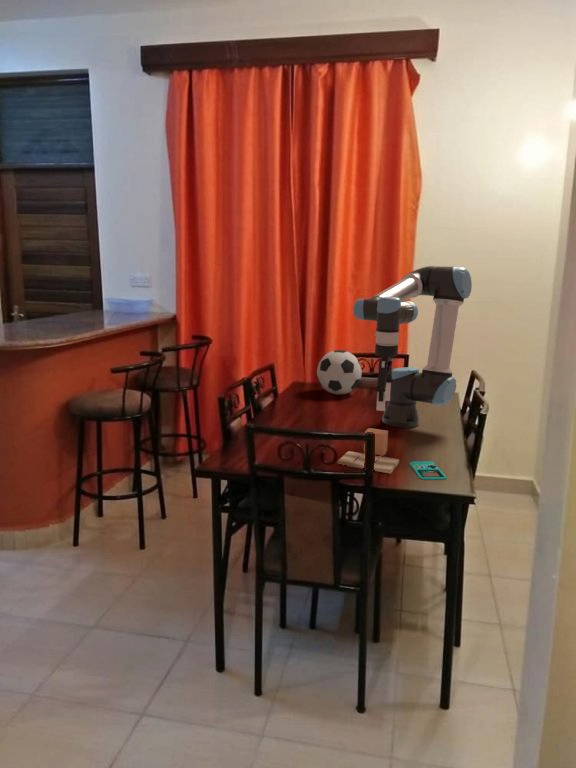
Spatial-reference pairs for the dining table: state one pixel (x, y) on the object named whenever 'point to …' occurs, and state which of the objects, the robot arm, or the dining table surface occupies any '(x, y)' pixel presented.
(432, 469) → the handheld gaming console
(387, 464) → the board
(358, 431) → the dining table surface
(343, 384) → the soccer ball
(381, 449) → the block
